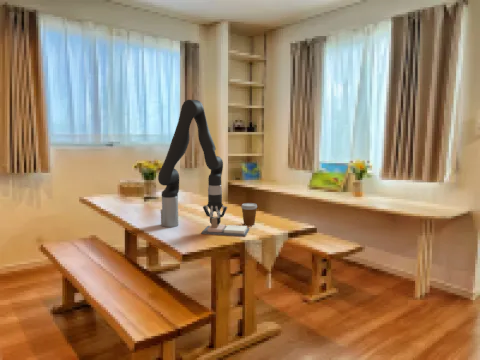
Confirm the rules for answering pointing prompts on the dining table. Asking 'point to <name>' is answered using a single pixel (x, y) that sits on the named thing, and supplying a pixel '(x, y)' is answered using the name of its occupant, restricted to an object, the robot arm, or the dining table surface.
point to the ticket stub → (215, 226)
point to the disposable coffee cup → (249, 213)
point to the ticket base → (229, 231)
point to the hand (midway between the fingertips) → (215, 223)
